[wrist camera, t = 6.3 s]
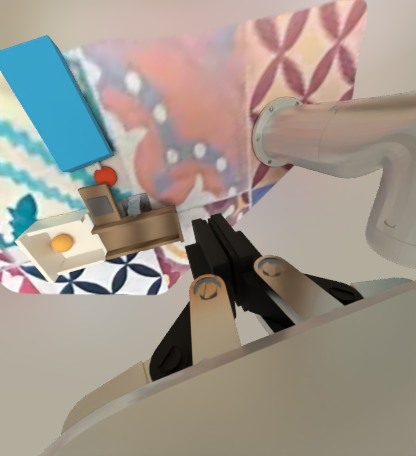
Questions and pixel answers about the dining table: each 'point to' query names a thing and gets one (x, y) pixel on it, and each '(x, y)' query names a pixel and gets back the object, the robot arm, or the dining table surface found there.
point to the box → (70, 260)
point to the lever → (56, 106)
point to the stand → (136, 205)
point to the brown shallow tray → (129, 224)
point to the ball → (62, 243)
